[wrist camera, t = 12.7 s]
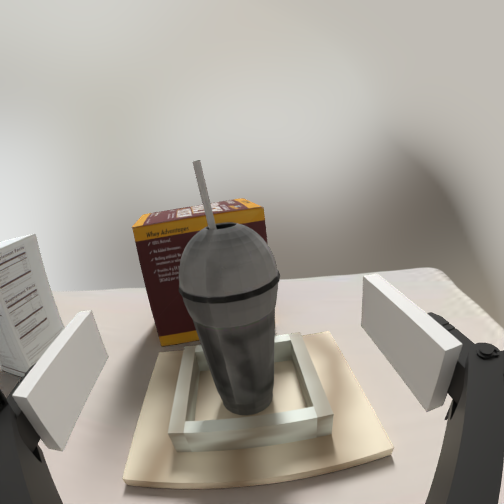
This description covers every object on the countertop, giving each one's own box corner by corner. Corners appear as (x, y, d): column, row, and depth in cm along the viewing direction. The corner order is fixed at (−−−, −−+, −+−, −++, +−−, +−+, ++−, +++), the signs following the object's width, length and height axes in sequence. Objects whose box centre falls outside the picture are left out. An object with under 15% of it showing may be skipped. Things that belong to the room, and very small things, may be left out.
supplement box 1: (74, 346, 36) (38, 232, 32) (37, 383, 28) (-13, 253, 23) (35, 340, 38) (2, 239, 33) (0, 370, 29) (-43, 258, 24)
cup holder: (127, 485, 16) (108, 461, 15) (161, 358, 33) (153, 334, 32) (391, 454, 17) (400, 427, 16) (329, 337, 34) (329, 312, 33)
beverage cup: (306, 397, 24) (291, 149, 18) (238, 440, 20) (185, 159, 14) (255, 363, 30) (228, 158, 24) (193, 395, 26) (143, 170, 20)
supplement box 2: (161, 312, 46) (140, 214, 41) (256, 294, 49) (245, 197, 44) (159, 347, 36) (129, 226, 32) (276, 324, 39) (264, 204, 35)
